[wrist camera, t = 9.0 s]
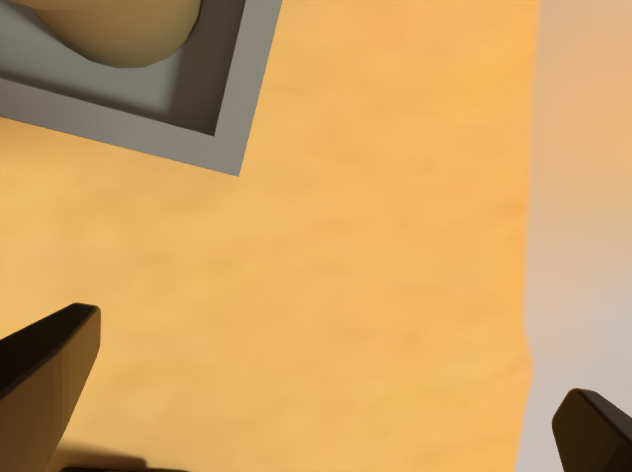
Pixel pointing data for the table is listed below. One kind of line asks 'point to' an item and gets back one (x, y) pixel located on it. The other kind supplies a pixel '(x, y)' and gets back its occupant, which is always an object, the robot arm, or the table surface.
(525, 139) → the table surface
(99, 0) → the cork
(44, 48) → the tray
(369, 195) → the table surface
